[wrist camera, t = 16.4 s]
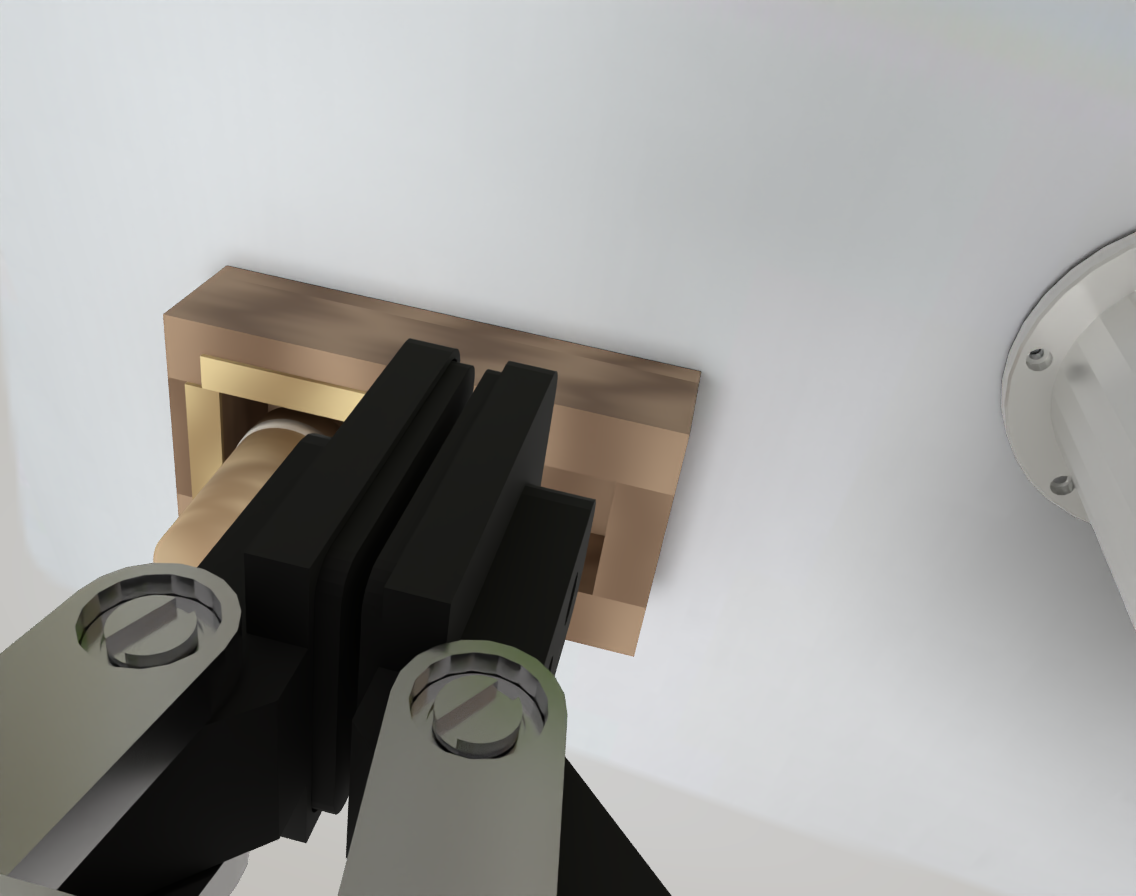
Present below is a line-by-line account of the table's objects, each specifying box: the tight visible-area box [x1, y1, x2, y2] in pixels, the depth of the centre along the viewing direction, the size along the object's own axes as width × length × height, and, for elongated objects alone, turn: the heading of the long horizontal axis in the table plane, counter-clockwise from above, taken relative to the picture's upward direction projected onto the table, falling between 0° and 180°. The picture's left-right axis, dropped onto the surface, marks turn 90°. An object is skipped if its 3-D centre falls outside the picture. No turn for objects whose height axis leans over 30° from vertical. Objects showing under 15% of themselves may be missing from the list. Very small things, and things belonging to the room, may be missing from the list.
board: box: [163, 266, 701, 657], centre depth 42 cm, size 20×11×5 cm, turn 81°
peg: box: [153, 407, 344, 567], centre depth 39 cm, size 4×4×11 cm
